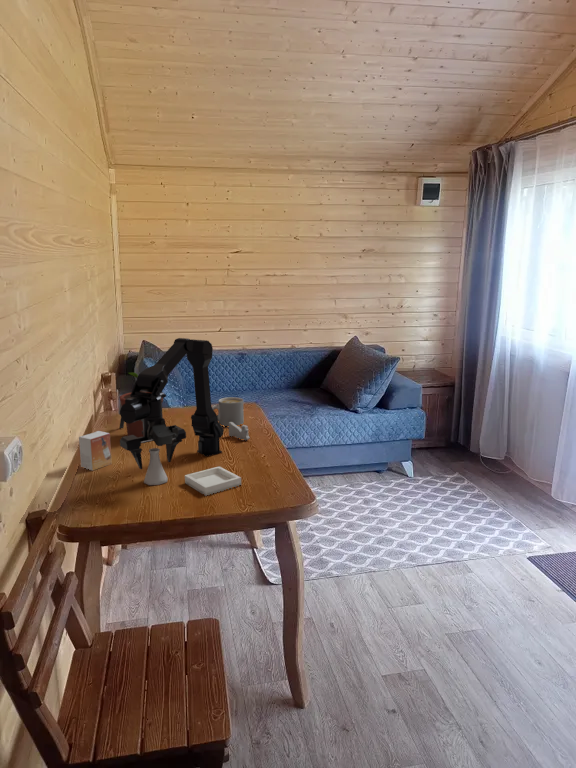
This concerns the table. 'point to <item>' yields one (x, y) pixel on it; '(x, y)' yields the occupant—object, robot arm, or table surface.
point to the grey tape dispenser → (238, 431)
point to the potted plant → (136, 426)
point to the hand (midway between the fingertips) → (155, 465)
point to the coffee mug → (230, 411)
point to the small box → (95, 450)
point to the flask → (155, 469)
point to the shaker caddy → (212, 480)
